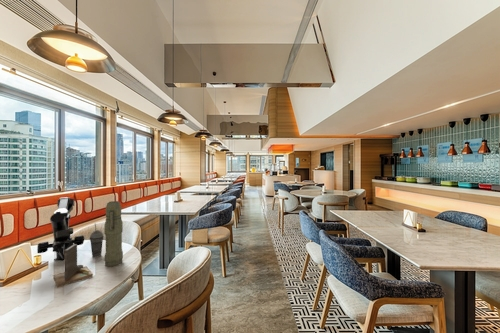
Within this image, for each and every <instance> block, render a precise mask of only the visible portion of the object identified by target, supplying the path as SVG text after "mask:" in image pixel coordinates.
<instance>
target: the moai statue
mask: <svg viewBox="0 0 500 333" xmlns="http://www.w3.org/2000/svg"><path fill="white" fill-rule="evenodd" d="M123 224H124V223H123V220H122V203H121V202H120V201H118V200H115V201H109V202H107V203H106V206H105V222H104V224H103V225H104V231H103V232H104V233H103V235H104V236H105V254H104V255H103V256H104V266H105V267H106V268H114V267H117V266H120V265H122V264H123V263H124V262H123V258H124V251H123V246H122V245H123V242H122V241H123V240H122V239H123V237H122V235H123V234H122V233H123V230H124V229H123V227H124V226H123Z"/></svg>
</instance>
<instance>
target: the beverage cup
mask: <svg viewBox="0 0 500 333" xmlns="http://www.w3.org/2000/svg"><path fill="white" fill-rule="evenodd" d="M104 237H105V235H104V233H103V232H102V231H101V230H99V229H98V230H97V226H96V223H94V231H92V232H91V234H90V235H89V241H90V248H91V256H92V258H98V257H101V256H102V250H103V240H104Z"/></svg>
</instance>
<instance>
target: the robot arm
mask: <svg viewBox="0 0 500 333" xmlns="http://www.w3.org/2000/svg"><path fill="white" fill-rule="evenodd" d="M75 203H76V202H75V199H74V198H71V197H69V196H68V197H67V196H66V197H59V199H57V204H56V207H57V210H54V211H53V214H51V216H50V218H49V221H50V223H51V226H52V233H53V242H52V243H49V241H43V242H42V241H41V242H38V244H37V248H36V251H37V254H43V253H46V252H47V251H48V250H49V249H51V248H52V252H53V253H54V252H55V253H56V257H55V258H53V261H64V250H66V249H68V248H69V247H71V246H72V245H74V244H77V246H81V245H83V244H84V242H85V235H83V234H82V235H80V234H79V235H75V236H74V238H73V237H72V235H73V234H74V228H73V227H69V225H70V219H71V218H72V214H70V213H71V212H72V211H73V209H74V207H75Z"/></svg>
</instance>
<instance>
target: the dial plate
mask: <svg viewBox="0 0 500 333" xmlns="http://www.w3.org/2000/svg"><path fill="white" fill-rule="evenodd" d="M83 269H87V270H90V268H88V266H83ZM93 276H94V274H93V272H92V271H91V270H90V273H85V272H81V271H80V272H77V273H76V274H75V275H74V276H72V277H71V278H70V279H69V280H68V281H65V271H63V272H59V273H56V274H53V280H54V282H55V285H56V287H57V288H59V287H60V288H61V287H63V286H66V285H71V284H73V283H76V282H79V281H83V280H87V279H90V278H93Z"/></svg>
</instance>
